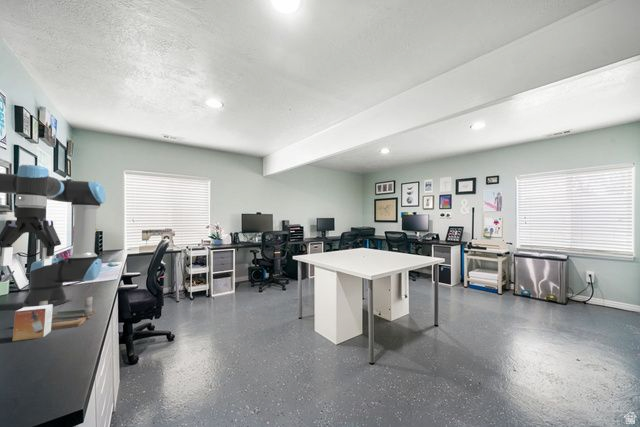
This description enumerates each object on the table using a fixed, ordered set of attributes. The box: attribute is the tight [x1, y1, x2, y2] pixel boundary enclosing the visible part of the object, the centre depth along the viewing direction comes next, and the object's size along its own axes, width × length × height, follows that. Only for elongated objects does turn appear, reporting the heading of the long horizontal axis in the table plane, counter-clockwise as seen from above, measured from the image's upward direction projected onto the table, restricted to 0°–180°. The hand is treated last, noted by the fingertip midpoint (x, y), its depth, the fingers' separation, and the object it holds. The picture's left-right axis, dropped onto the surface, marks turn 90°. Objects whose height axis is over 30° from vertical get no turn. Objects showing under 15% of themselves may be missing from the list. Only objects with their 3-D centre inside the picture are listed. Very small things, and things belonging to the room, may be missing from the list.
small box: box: [12, 304, 54, 342], centre depth 92 cm, size 8×6×10 cm
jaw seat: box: [39, 296, 96, 331], centre depth 106 cm, size 18×17×9 cm
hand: (26, 265), depth 91 cm, fingers open, 13 cm apart
